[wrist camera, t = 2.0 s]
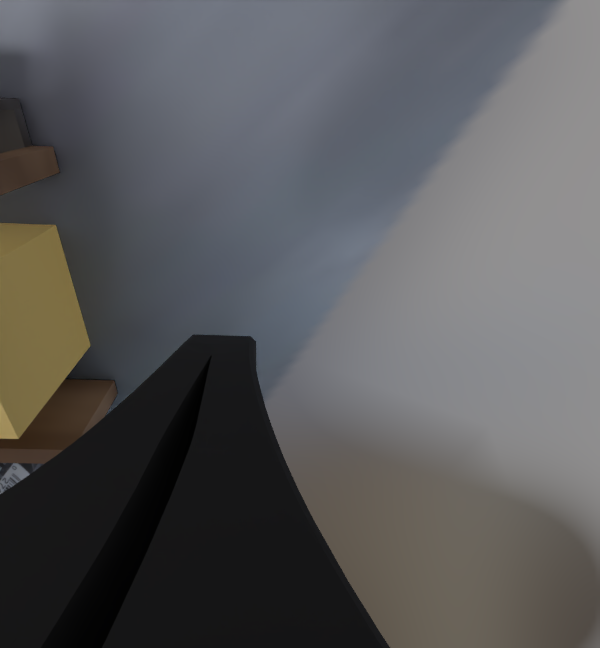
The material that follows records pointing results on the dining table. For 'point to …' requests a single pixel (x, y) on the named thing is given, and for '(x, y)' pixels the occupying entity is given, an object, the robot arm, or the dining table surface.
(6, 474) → the pill bottle
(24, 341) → the ochre block
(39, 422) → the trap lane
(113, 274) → the dining table surface
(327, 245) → the dining table surface
